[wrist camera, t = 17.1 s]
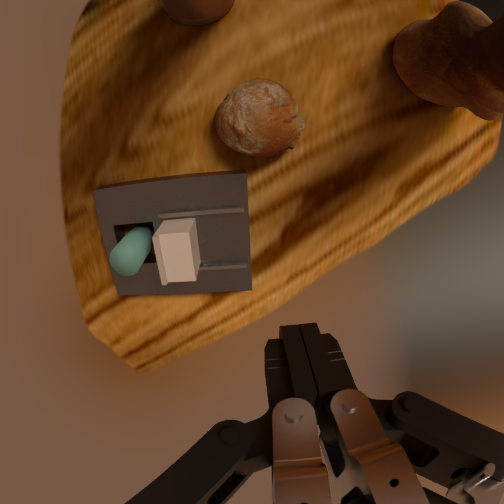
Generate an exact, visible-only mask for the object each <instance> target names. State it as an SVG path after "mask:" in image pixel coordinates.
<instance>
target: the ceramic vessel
mask: <svg viewBox="0 0 504 504" xmlns="http://www.w3.org/2000/svg"><path fill="white" fill-rule="evenodd" d="M392 60H393V64H394V67H395V69H396V71H397V73H398V75H399V76H400V77H401V79H402V80H403V82H404V83H405V85H406V86H407V87H408V88H409V89H410V90H411V91H412V92H413V93H414V94H415V95H416V96H418V97H420V98H422V99H424V100H427V101H430V102H433V103H435V104H438V105H443V106H446V107H465V108H467V109H469V110H470V111H471V112H473V113H474V114H475V115H476V116H478V117H480V118H482V119H484V120H488V121H489V120H495V119H497V118H499V117H500V116H501V115H503V114H504V15H502V16H501V17H500V18H499V19H497V20H496V21H494V22H492V21H491V20H490V19H489V18H488V17H487V16H486V15H485V14H484V13H483V12H482V11H481V10H480V9H478V8H476V7H474V6H472V5H470V4H468V3H465V2H461V1H454V2H449V3H448V4H447V5H446V6H445V7H444V9H443V10H442V11H441V12H440V13H439V14H438V15H437V16H436V17H434V18H433V19H431V20H417V21H415V22H413V23H411V24H409V25H408V26H406V27H404V28H403V29H402V30H401V31H400V32H399V33H398V34H397V36H396V38H395V42H394V47H393V57H392Z"/></svg>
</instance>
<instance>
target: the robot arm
mask: <svg viewBox="0 0 504 504" xmlns="http://www.w3.org/2000/svg"><path fill="white" fill-rule="evenodd" d="M159 2H160V3H161V5H162V6H163V8H164V9H165V11H166V13H167V14H168V16H169V17H170V18H171V19H172V20H174V21H176V22H177V23H180V24H183V25H189V26H200V25H205V24H209V23H212V22H215V21H216V20H218V19H220V18H222V17H223V16H224V15H226V14H227V13H228V12H229V10H230V9H231V8H232V6H233V4H234V0H159ZM264 352H265V378H266V386H267V395H268V402H269V410H268V411H267V412H266V413H265V414H264V415H263V416H262V417H260V418H258V419H256V420H253V421H250V422H247V423H245V424H244V423H242V422H240V421H237V420H225V421H221V422H219V423H217V424H215V425H214V426H213V427H212V428H211V429H210V430H209V431H208V432H207V433H206V434H205V435H204V436H203V437H202V438H201V439H200V440H199V441H198V442H197V443H196V444H194V446H192V447H191V448H190V449H189V450H188V451H187V452H186V453H185V454H184V455H183V456H181V457H180V458H179V459H178V460H177V461H176V462H175V463H174V464H173V465H171V466H170V467H169V468H168V469H167V470H166V471H165V472H163V473H162V474H161V475H160V476H159V477H158V478H156V479H155V480H154V481H153V482H151V483H150V484H149V485H148V486H147V487H145V488H144V489H143V490H142V491H140V492H139V493H138V494H137V495H135V496H134V497H133V498H131V499H130V500H129V501H127V502H126V503H125V504H225V503H226V502H227V501H228V500H229V499H230V498H231V497H232V496H233V495H234V494H235V492H236V491H237V490H238V489H239V488H240V487H241V486H242V485H243V484H244V483H245V482H246V480H247V479H248V478H249V477H250V476H251V475H252V473H254V472H256V471H259V470H262V469H264V468H267V467H270V466H272V504H332V503H331V494H330V487H329V478H328V472H327V468H326V466H325V464H323V462H322V458H321V450H320V446H321V449H322V451H323V455H324V457H325V461H326V464H327V467H328V470H329V473H330V476H331V480H332V494H333V498H334V501H335V504H499V501H500V499H501V497H502V494H503V492H504V434H503V433H501V432H498V431H496V430H494V429H491V428H489V427H487V426H484V425H482V424H480V423H478V422H476V421H473V420H471V419H469V418H467V417H464V416H462V415H460V414H458V413H456V412H454V411H451V410H450V409H448V408H445V407H444V406H441V405H439V404H437V403H435V402H433V401H431V400H429V399H427V398H425V397H423V396H421V395H419V394H417V393H415V392H410V391H407V392H402V393H400V394H398V395H397V396H396V397H395V398H394V399H393V400H376V399H371V398H368V397H367V396H366V395H365V394H364V393H362V392H361V391H359V390H358V389H357V387H356V385H355V383H354V380H353V378H352V375H351V373H350V370H349V368H348V365H347V363H346V360H345V359H344V356H343V353H342V352H341V348H340V346H339V344H338V341H337V340H336V339H335V338H334V337H333V336H332V335H330V333H326V334H320V331H319V328H318V326H317V324H316V323H307V324H299V325H287V326H280V328H279V339H269V340H268V342H267V344H266V346H265V350H264ZM318 424H319V428H320V435H319V436H318V429H317V425H318ZM416 473H417V474H419V475H421V476H423V477H425V478H427V479H429V480H431V481H433V482H435V483H438V484H440V485H442V486H444V487H447V488H448V491H447V493H446V498H445V497H443V496H441V495H439V494H437V493H435V492H433V491H431V490H429V489H427V488H425V487H422V486H421V484H420V482H419V480H418V477H417V475H416Z"/></svg>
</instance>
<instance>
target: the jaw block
mask: <svg viewBox="0 0 504 504" xmlns="http://www.w3.org/2000/svg"><path fill="white" fill-rule="evenodd" d="M152 239H153V245H154V250H155V255H156V260H157V265H158V269H159V274H160V278H161V283H162V285H167V283H168V282H186V281H196V279H197V275H198V271H199V266H200V262H201V260H200V252H199V245H198V237H197V228H196V220H195V218H183V219H171V220H164V221H163V222H162V224H161V225H160V227H159V228H158V229H157V231H156V232H155V234H154V235H153V236H152Z"/></svg>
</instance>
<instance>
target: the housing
mask: <svg viewBox="0 0 504 504" xmlns="http://www.w3.org/2000/svg"><path fill="white" fill-rule="evenodd" d="M93 193H94V199H95V204H96V209H97V214H98V219H99V224H100V228H101V233H102V237H103V241H104V245H105V249H106V253H107V257H108V261H109V264H110V268H111V272H112V275H113V278H114V282H115V285H116V288H117V291H118V295H160V294H189V293H212V292H231V291H248V290H252V280H251V259H250V238H249V216H248V195H247V173H246V170H233V171H218V172H206V173H194V174H184V175H174V176H165V177H157V178H149V179H142V180H135V181H128V182H121V183H115V184H109V185H103V186H101V187H99V188H97V189H95V190H93ZM183 218H195V220H196V228H197V237H198V245H199V252H200V260H201V262H200V266H199V271H198V275H197V279H196V281H186V282H168V283H167V285H162V283H161V278H160V274H159V269H158V265H157V260H156V255H155V254H148V255H147V257H146V259H145V260H144V262H143V264H142V265H141V267H140V268H139V270H138V272H137V273H136V274H134V275H132V276H123V275H121V274H119V273H117V272H116V271H115V270H114V269H113V267H112V266H111V263H110V253H111V251H112V250H113V249H114V247H115V246H116V245H117V244H118V243H119V242H120V241H121V240H122V239H123V237H124V236H125V235H124V230H123V224H133V223H143V222H153V226H154V232H156V231H157V229H158V228H159V227H160V225H161V224H162V222H163V221H164V220H171V219H183Z"/></svg>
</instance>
